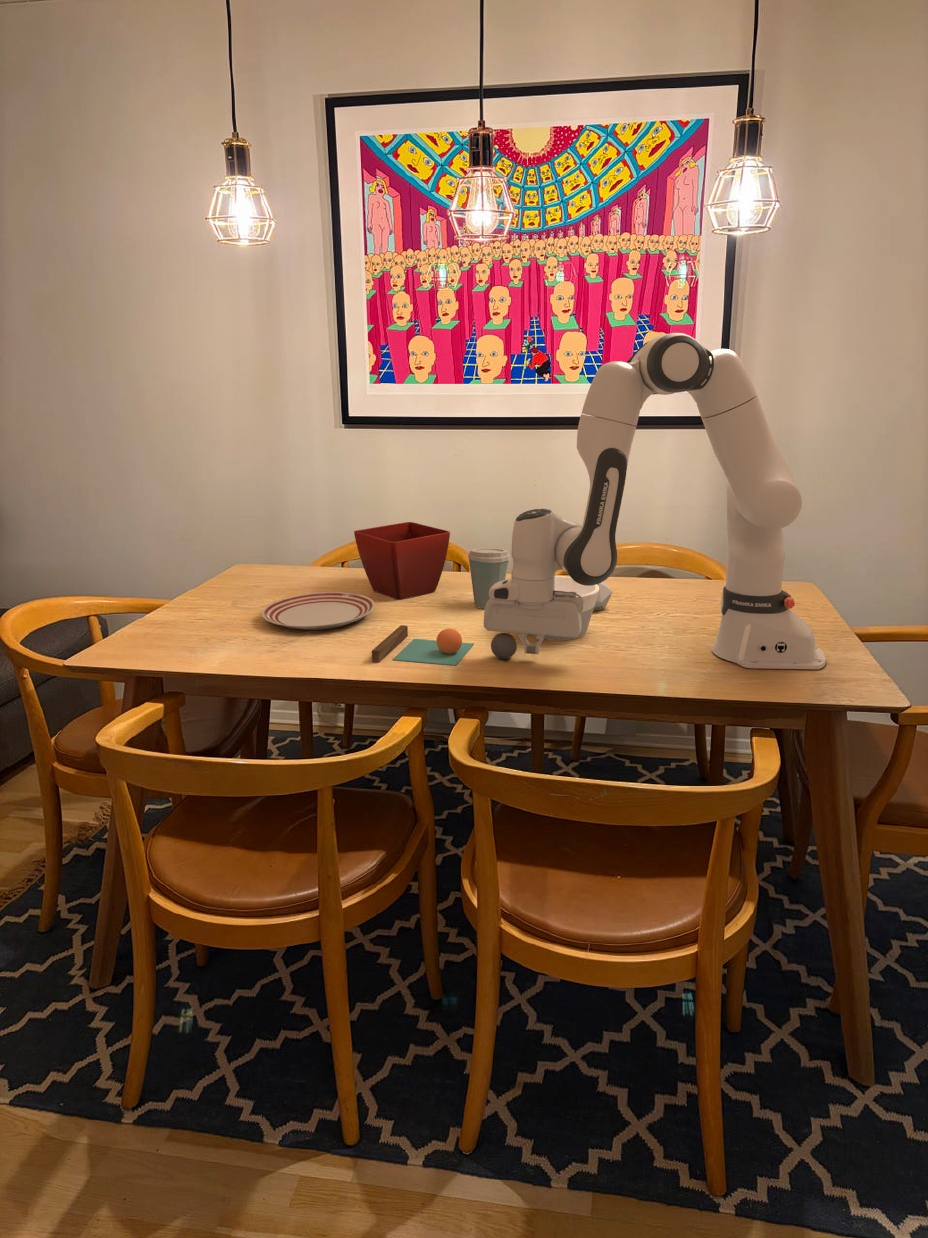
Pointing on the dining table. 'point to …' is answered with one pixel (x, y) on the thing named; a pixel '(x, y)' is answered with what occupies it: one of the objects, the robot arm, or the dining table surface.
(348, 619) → the dinner plate
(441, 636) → the ball
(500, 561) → the disposable coffee cup
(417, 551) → the plant pot
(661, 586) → the dining table surface
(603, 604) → the die
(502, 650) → the ball
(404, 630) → the rail
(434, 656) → the mark
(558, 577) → the bowl
